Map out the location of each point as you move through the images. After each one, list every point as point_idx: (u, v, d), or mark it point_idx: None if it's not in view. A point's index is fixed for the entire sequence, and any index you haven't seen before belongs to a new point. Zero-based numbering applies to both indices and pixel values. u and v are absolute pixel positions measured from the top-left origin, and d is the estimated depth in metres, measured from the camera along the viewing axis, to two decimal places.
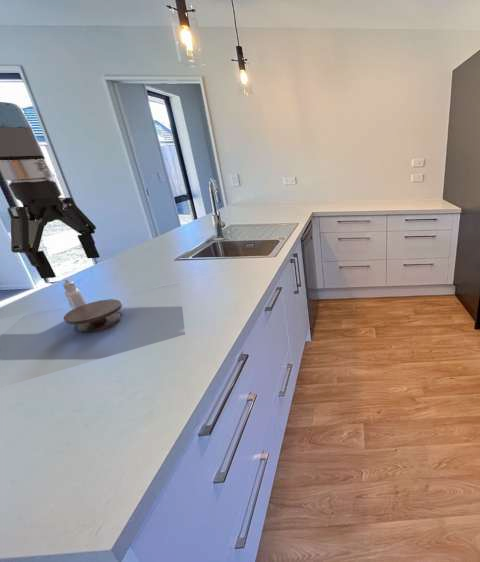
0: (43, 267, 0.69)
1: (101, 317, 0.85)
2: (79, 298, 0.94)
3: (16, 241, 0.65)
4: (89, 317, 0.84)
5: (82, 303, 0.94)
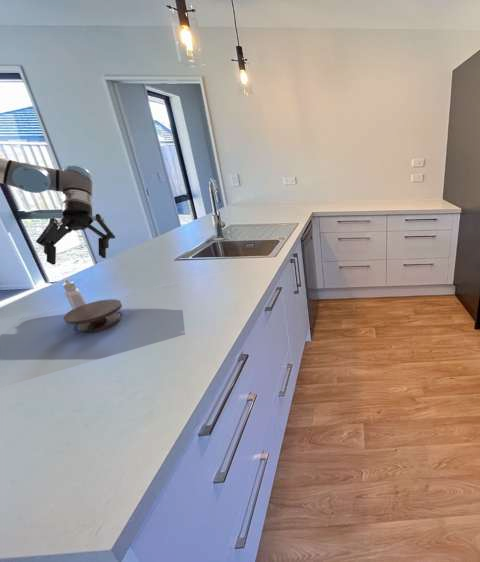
0: None
1: (101, 317, 0.85)
2: (79, 298, 0.94)
3: None
4: (89, 317, 0.84)
5: (82, 303, 0.94)
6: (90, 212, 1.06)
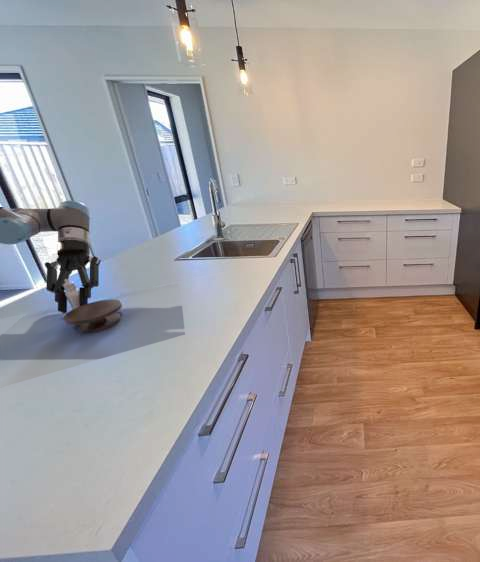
0: None
1: (101, 317, 0.85)
2: None
3: None
4: (89, 317, 0.84)
5: None
6: (87, 250, 1.00)
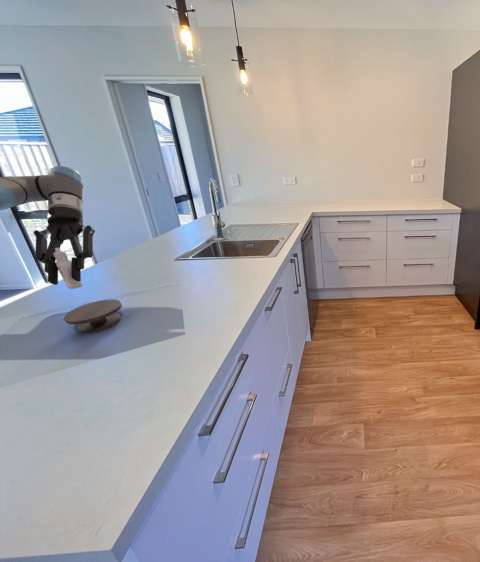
0: None
1: (101, 317, 0.85)
2: (71, 269, 0.86)
3: None
4: (89, 317, 0.84)
5: None
6: (80, 219, 0.92)
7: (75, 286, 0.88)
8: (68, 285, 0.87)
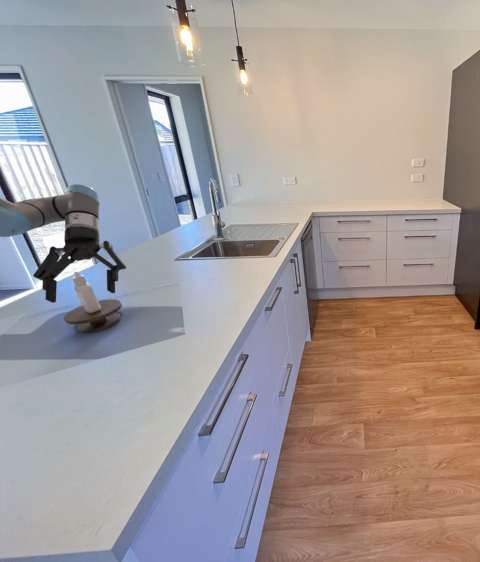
0: None
1: (101, 317, 0.85)
2: (90, 293, 0.85)
3: None
4: (89, 317, 0.84)
5: (93, 298, 0.86)
6: (97, 238, 0.91)
7: (93, 310, 0.87)
8: (86, 309, 0.86)
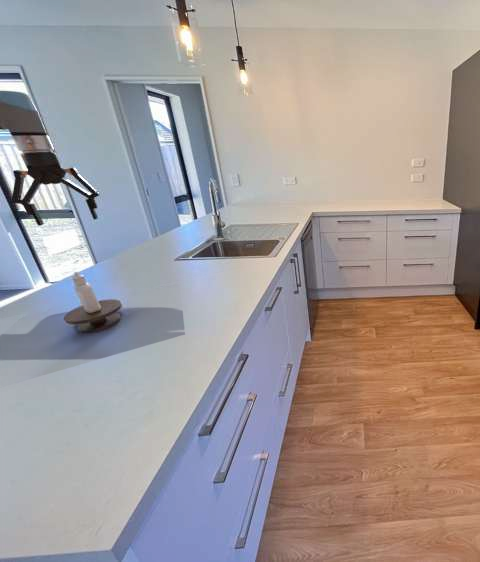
0: None
1: (101, 317, 0.85)
2: (90, 293, 0.85)
3: None
4: (89, 317, 0.84)
5: (93, 298, 0.86)
6: (59, 162, 0.93)
7: (93, 310, 0.87)
8: (86, 309, 0.86)
